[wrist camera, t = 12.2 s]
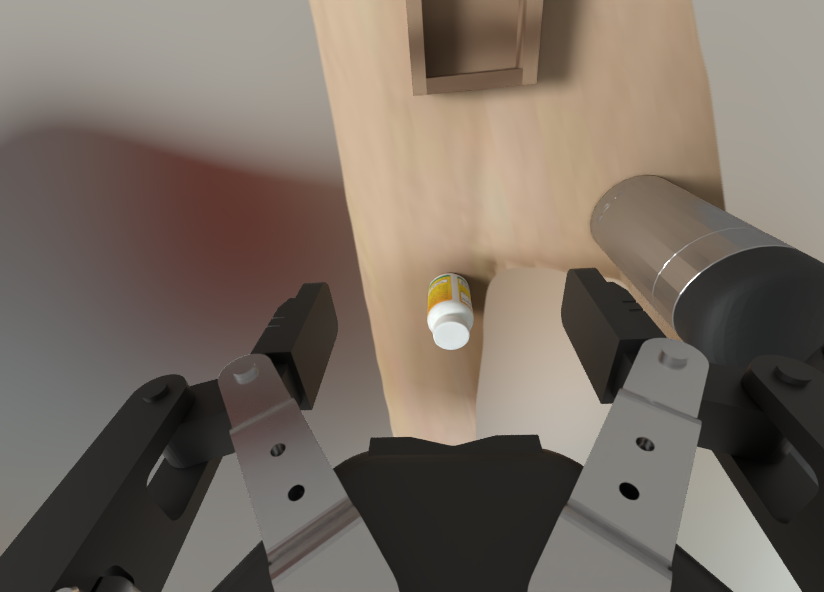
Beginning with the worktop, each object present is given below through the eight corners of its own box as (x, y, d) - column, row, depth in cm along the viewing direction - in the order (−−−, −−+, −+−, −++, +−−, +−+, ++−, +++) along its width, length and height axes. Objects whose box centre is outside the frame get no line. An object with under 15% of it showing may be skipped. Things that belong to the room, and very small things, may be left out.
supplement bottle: (474, 276, 46) (483, 322, 38) (462, 309, 49) (468, 358, 41) (432, 268, 46) (433, 312, 38) (423, 302, 49) (422, 350, 41)
